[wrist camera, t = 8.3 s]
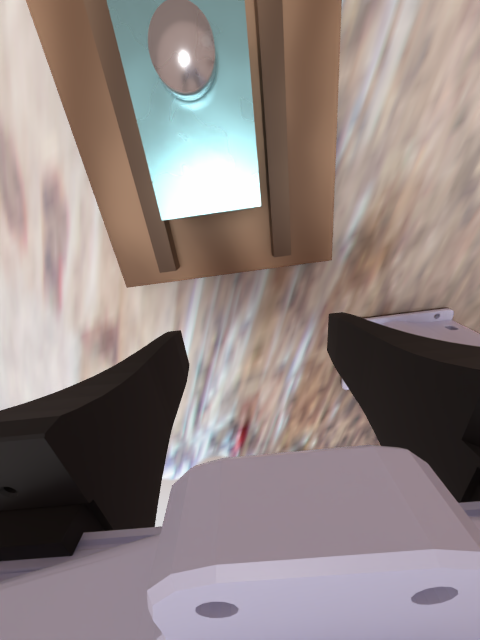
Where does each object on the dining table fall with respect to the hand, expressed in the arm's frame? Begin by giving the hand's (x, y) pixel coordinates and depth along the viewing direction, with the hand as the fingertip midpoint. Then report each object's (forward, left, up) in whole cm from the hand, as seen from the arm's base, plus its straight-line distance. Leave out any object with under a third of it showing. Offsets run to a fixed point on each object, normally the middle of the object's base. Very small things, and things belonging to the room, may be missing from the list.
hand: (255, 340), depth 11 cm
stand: (+1, -10, -9) cm, 13 cm away
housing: (+1, -10, -8) cm, 13 cm away
